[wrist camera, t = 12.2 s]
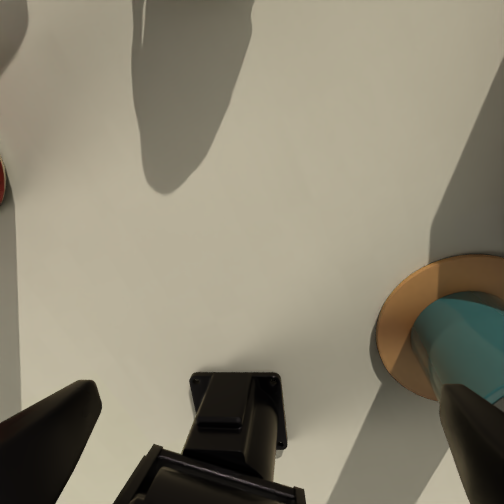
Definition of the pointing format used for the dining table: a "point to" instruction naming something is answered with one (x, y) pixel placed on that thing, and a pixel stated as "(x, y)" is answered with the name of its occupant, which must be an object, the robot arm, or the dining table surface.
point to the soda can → (2, 180)
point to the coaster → (418, 298)
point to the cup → (463, 344)
